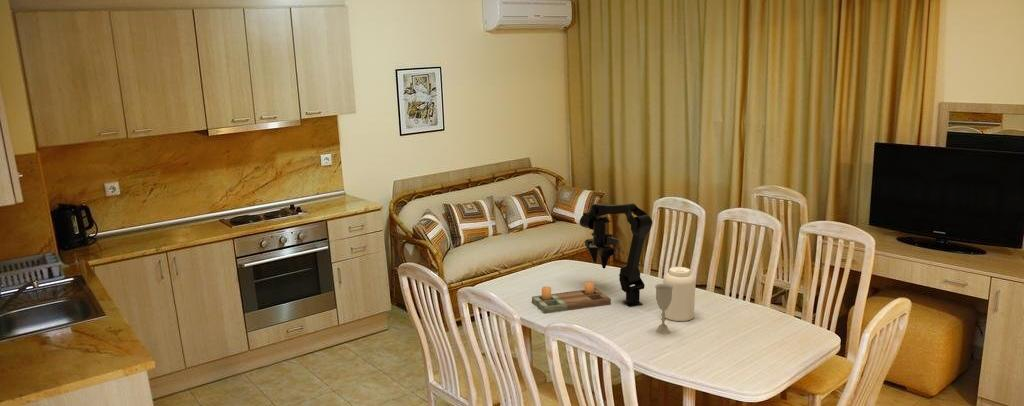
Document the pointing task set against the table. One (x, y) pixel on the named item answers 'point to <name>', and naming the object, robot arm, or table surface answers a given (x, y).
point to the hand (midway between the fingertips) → (599, 265)
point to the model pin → (546, 293)
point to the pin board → (571, 301)
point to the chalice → (663, 303)
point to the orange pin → (589, 288)
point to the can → (680, 294)
